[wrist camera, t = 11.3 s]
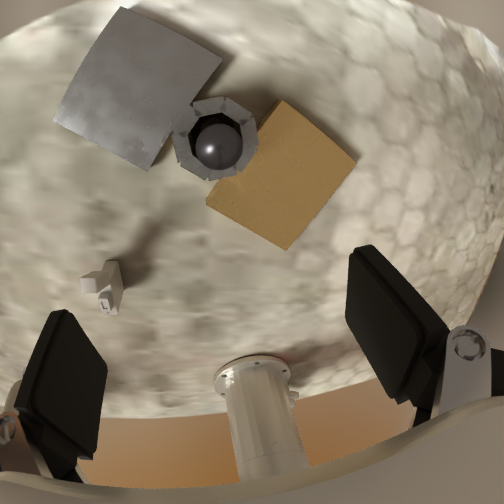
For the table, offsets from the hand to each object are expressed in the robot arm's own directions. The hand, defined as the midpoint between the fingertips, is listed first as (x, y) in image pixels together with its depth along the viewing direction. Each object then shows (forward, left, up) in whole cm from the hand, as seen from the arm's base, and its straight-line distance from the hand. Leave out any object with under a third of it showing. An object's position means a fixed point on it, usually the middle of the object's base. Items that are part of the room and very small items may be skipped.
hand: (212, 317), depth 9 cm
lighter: (+3, +15, -21) cm, 26 cm away
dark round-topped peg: (+1, -3, -21) cm, 21 cm away
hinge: (+1, -3, -21) cm, 21 cm away
